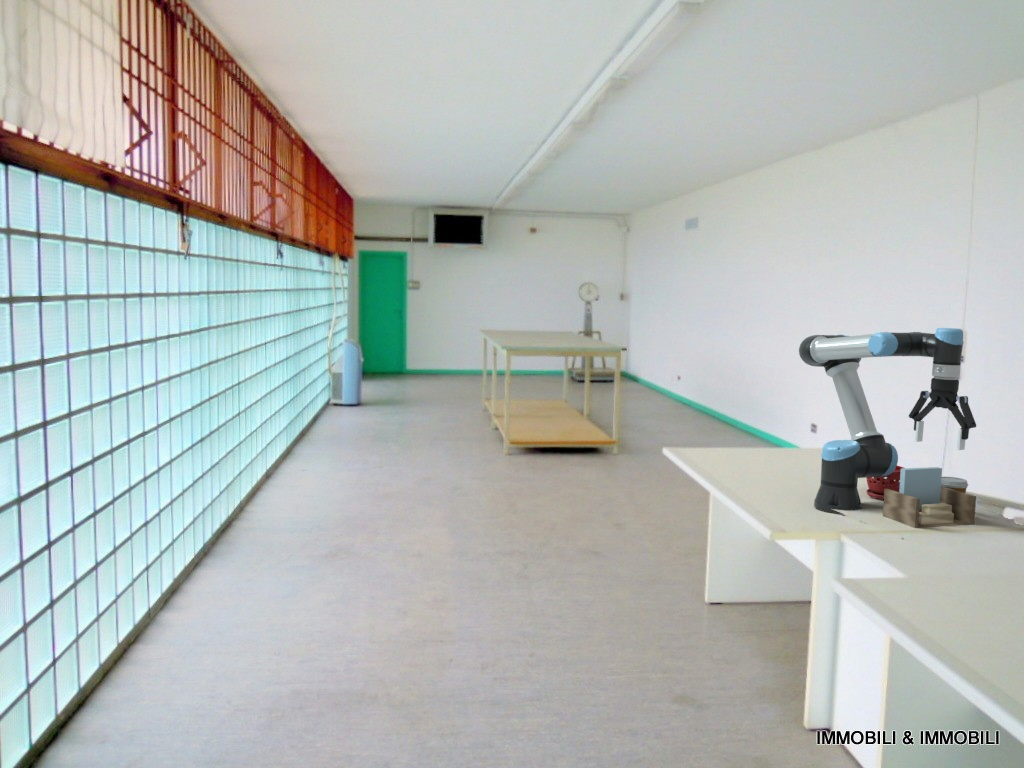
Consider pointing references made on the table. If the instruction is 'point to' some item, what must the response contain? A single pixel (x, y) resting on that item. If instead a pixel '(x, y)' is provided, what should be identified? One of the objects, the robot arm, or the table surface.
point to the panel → (922, 484)
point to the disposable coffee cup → (954, 483)
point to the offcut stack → (936, 514)
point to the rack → (908, 509)
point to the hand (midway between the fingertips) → (939, 445)
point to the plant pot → (884, 483)
